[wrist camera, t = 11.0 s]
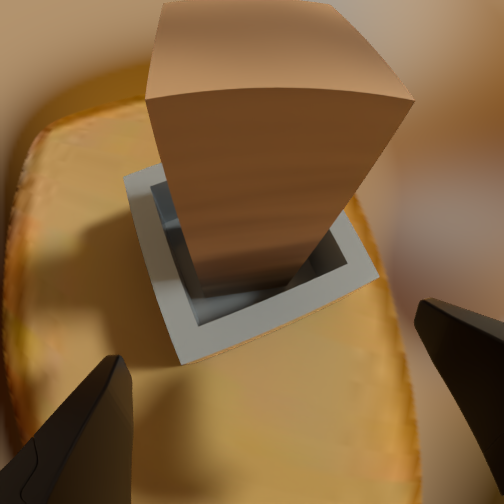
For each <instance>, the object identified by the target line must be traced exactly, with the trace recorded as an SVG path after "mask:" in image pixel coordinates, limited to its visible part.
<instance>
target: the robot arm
mask: <svg viewBox="0 0 504 504" xmlns="http://www.w3.org/2000/svg"><path fill="white" fill-rule="evenodd" d="M414 326H415V329H416V330H417V332H418V334H419V336H420V338H421V340H422V342H423V344H424V346H425V348H426V350H427V352H428V354H429V356H430V358H431V360H432V362H433V364H434V365H435V367H436V369H437V370H438V372H439V374H440V375H441V377H442V378H443V380H444V382H445V384H446V385H447V387H448V389H449V390H450V392H451V394H452V396H453V397H454V399H455V401H456V403H457V405H458V406H459V408H460V410H461V412H462V413H463V415H464V417H465V419H466V421H467V423H468V425H469V427H470V429H471V431H472V432H473V435H474V436H475V438H476V440H477V442H478V444H479V446H480V449H481V450H482V453H483V455H484V457H485V459H486V462H487V464H488V466H489V468H490V471H491V473H492V475H493V477H494V480H495V482H496V484H497V487H498V489H499V492H500V494H501V496H503V495H504V322H501V321H498V320H495V319H493V318H490V317H487V316H484V315H481V314H478V313H475V312H472V311H470V310H467V309H463V308H461V307H458V306H455V305H452V304H449V303H446V302H443V301H440V300H437V299H435V298H431V297H429V298H426V299H423V300H421V301H420V302H419V304H418V308H417V312H416V315H415V319H414ZM132 445H133V402H132V378H131V375H130V372H129V370H128V368H127V366H126V364H125V362H124V360H123V358H122V356H120V355H107V356H106V357H105V358H104V359H103V360H102V361H101V362H100V363H99V364H98V365H97V366H96V367H95V368H94V369H93V370H92V371H91V372H90V374H89V375H88V376H87V377H86V378H85V379H84V380H83V381H82V382H81V383H80V384H79V385H78V387H77V388H76V389H75V390H74V391H73V392H72V393H71V394H70V395H69V396H68V397H67V399H66V400H65V401H64V402H63V403H62V404H61V405H60V406H59V407H58V408H57V410H56V411H55V412H54V413H53V414H52V415H51V416H50V417H49V419H48V420H47V421H46V422H45V423H44V424H43V425H42V426H41V428H40V429H39V430H38V431H37V432H36V433H35V434H34V437H32V438H31V439H30V440H29V441H28V442H27V444H26V445H25V446H24V447H23V448H22V449H21V450H20V451H19V453H18V454H17V455H16V456H15V457H14V458H13V459H12V460H11V461H10V462H9V463H8V464H7V465H6V466H5V467H4V468H3V469H2V470H1V471H0V504H131V466H132Z"/></svg>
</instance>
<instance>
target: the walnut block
mask: <svg viewBox="0 0 504 504" xmlns="http://www.w3.org/2000/svg"><path fill="white" fill-rule="evenodd" d="M145 101H146V105H147V109H148V113H149V117H150V121H151V125H152V129H153V133H154V137H155V141H156V144H157V148H158V152H159V155H160V159H161V162H162V166H163V169H164V173H165V176H166V180H167V183H168V187H169V190H170V193H171V197H172V200H173V203H174V206H175V210H176V213H177V216H178V219H179V222H180V226H181V229H182V232H183V235H184V238H185V241H186V244H187V247H188V250H189V253H190V256H191V259H192V262H193V265H194V268H195V271H196V273H197V276H198V279H199V282H200V285H201V288H202V290H203V293H204V296H205V298H208V297H216V296H223V295H230V294H237V293H244V292H251V291H258V290H265V289H271V288H278V287H284V286H287V285H288V283H289V282H290V281H291V279H292V278H293V277H294V275H295V274H296V273H297V272H298V270H299V269H300V268H301V266H302V265H303V264H304V262H305V261H306V260H307V258H308V257H309V256H310V254H311V253H312V252H313V250H314V249H315V247H316V246H317V245H318V243H319V242H320V241H321V239H322V238H323V237H324V235H325V234H326V233H327V231H328V230H329V228H330V227H331V226H332V224H333V223H334V221H335V220H336V219H337V217H338V216H339V214H340V213H341V212H342V210H343V209H344V207H345V206H346V205H347V203H348V202H349V200H350V199H351V197H352V196H353V195H354V193H355V192H356V190H357V189H358V187H359V186H360V185H361V183H362V182H363V180H364V179H365V177H366V176H367V174H368V173H369V171H370V170H371V168H372V167H373V165H374V164H375V162H376V161H377V159H378V158H379V156H380V155H381V153H382V152H383V150H384V149H385V147H386V146H387V144H388V143H389V141H390V140H391V138H392V137H393V135H394V134H395V132H396V130H397V129H398V127H399V126H400V124H401V123H402V121H403V120H404V118H405V116H406V115H407V113H408V112H409V110H410V108H411V107H412V105H413V103H414V102H415V100H414V98H413V97H412V96H411V94H410V93H409V91H408V90H407V88H406V87H405V86H404V84H403V83H402V82H401V81H400V79H399V78H398V77H397V75H396V74H395V73H394V72H393V70H392V69H391V68H390V67H389V65H388V64H387V63H386V62H385V61H384V59H383V58H382V57H381V56H380V55H379V54H378V53H377V51H376V50H375V49H374V48H373V47H372V46H371V45H370V44H369V42H367V40H366V39H365V38H364V37H363V36H362V35H361V34H360V33H359V32H358V31H357V30H356V29H355V28H354V27H353V26H352V25H351V24H350V23H349V22H348V21H347V20H346V19H345V18H344V17H343V16H342V15H341V14H340V13H339V12H338V11H337V10H335V9H334V8H333V7H332V6H331V5H329V4H323V3H316V2H308V1H300V0H186V1H176V2H170V3H164V4H163V7H162V11H161V15H160V20H159V24H158V28H157V33H156V38H155V43H154V47H153V53H152V58H151V65H150V70H149V76H148V82H147V89H146V96H145Z"/></svg>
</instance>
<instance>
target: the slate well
mask: <svg viewBox="0 0 504 504" xmlns="http://www.w3.org/2000/svg"><path fill="white" fill-rule="evenodd" d="M123 179H124V183H125V188H126V192H127V196H128V201H129V205H130V209H131V213H132V217H133V221H134V225H135V228H136V232H137V236H138V240H139V243H140V247H141V250H142V254H143V257H144V260H145V264H146V267H147V270H148V274H149V277H150V280H151V283H152V286H153V289H154V292H155V295H156V298H157V301H158V304H159V307H160V310H161V313H162V316H163V318H164V321H165V324H166V327H167V329H168V332H169V335H170V337H171V340H172V343H173V345H174V348H175V350H176V353H177V355H178V358H179V360H180V363H181V365H187V364H194V363H197V362H200V361H203V360H205V359H208V358H210V357H213V356H216V355H218V354H221V353H223V352H226V351H228V350H231V349H233V348H236V347H238V346H241V345H243V344H246V343H248V342H250V341H253V340H255V339H258V338H260V337H262V336H265V335H267V334H269V333H271V332H274V331H276V330H278V329H281V328H283V327H285V326H287V325H289V324H292V323H294V322H296V321H298V320H300V319H302V318H305V317H307V316H309V315H311V314H313V313H315V312H317V311H319V310H321V309H324V308H326V307H328V306H330V305H332V304H334V303H336V302H338V301H340V300H342V299H344V298H345V297H347V296H349V295H351V294H352V293H354V292H356V291H357V290H359V289H361V288H362V287H364V286H366V285H367V284H369V283H371V282H372V281H374V280H375V279H377V278H379V275H378V273H377V271H376V269H375V267H374V265H373V263H372V261H371V259H370V257H369V255H368V253H367V251H366V250H365V248H364V246H363V244H362V242H361V240H360V239H359V237H358V235H357V233H356V231H355V230H354V228H353V226H352V224H351V222H350V221H349V219H348V217H347V215H346V214H345V212H344V210H342V212H341V213H340V214H339V216H338V217H337V219H336V220H335V221H334V223H333V224H332V226H331V227H330V228H329V230H328V231H327V233H326V234H325V235H324V237H323V238H322V239H321V241H320V242H319V243H318V245H317V246H316V247H315V249H314V250H313V252H312V253H311V254H310V256H309V257H308V258H307V260H306V261H305V262H304V264H303V265H302V266H301V268H300V269H299V270H298V272H297V273H296V274H295V275H294V277H293V278H292V279H291V281H290V282H289V283H288V285H287V286H284V287H278V288H271V289H265V290H258V291H251V292H244V293H237V294H230V295H223V296H216V297H208V298H205V296H204V293H203V290H202V288H201V285H200V282H199V279H198V276H197V273H196V271H195V268H194V265H193V262H192V259H191V256H190V253H189V250H188V247H187V244H186V241H185V238H184V235H183V232H182V229H181V226H180V222H179V219H178V216H177V213H176V210H175V206H174V203H173V200H172V197H171V193H170V190H169V187H168V183H167V180H166V176H165V173H164V169H163V166H162V163H159V164H156V165H154V166H151V167H148V168H145V169H143V170H140V171H137V172H135V173H132V174H129V175H127V176H124V177H123Z"/></svg>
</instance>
